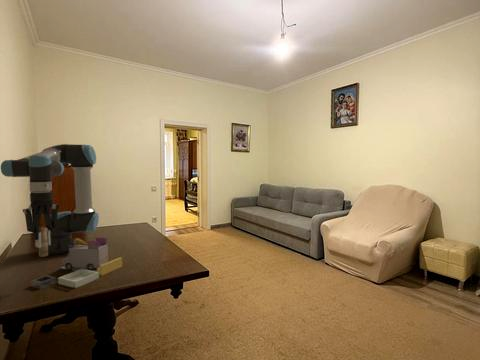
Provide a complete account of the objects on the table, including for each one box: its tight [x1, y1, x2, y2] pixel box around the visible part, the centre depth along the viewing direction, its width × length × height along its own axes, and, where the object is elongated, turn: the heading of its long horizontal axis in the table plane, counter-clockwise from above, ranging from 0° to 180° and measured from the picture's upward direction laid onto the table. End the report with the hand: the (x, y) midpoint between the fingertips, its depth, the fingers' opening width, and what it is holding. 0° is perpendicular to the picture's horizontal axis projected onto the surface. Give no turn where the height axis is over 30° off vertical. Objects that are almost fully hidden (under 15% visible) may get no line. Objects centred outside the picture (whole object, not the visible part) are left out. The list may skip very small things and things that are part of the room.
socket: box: [30, 274, 57, 290], centre depth 112 cm, size 6×6×2 cm
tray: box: [57, 269, 100, 289], centre depth 115 cm, size 11×11×3 cm
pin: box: [38, 226, 49, 258], centre depth 112 cm, size 3×3×12 cm
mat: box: [60, 267, 101, 277], centre depth 132 cm, size 26×14×1 cm, turn 68°
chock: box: [97, 257, 123, 276], centre depth 127 cm, size 3×12×4 cm, turn 158°
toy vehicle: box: [60, 236, 110, 271], centre depth 130 cm, size 9×20×15 cm, turn 87°
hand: (43, 245), depth 112 cm, fingers closed on pin, 3 cm apart
